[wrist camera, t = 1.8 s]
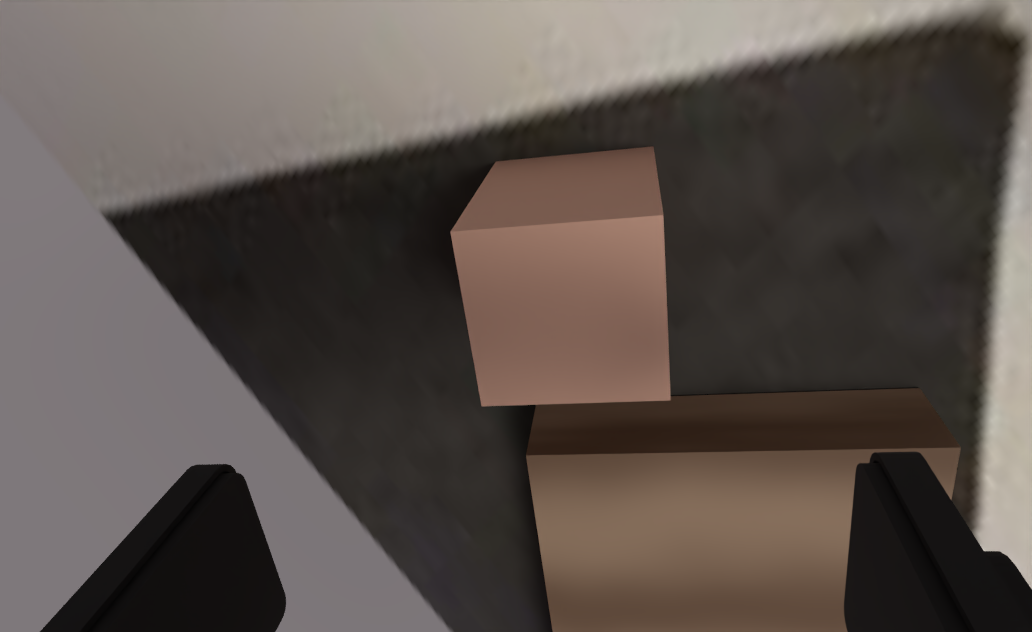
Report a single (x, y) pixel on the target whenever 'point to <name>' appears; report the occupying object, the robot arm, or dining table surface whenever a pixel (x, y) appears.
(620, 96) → the dining table surface
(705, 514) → the walnut base
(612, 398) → the terracotta block
